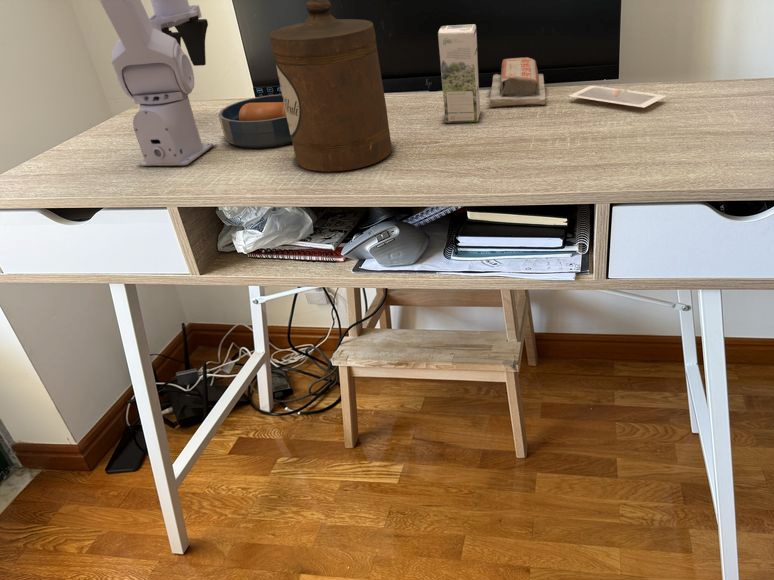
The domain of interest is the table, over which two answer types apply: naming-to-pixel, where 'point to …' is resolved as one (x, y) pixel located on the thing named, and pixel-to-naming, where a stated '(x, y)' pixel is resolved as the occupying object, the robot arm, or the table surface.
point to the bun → (262, 111)
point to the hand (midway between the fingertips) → (189, 70)
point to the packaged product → (518, 84)
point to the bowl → (254, 126)
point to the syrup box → (459, 73)
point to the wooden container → (332, 91)
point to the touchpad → (618, 96)
